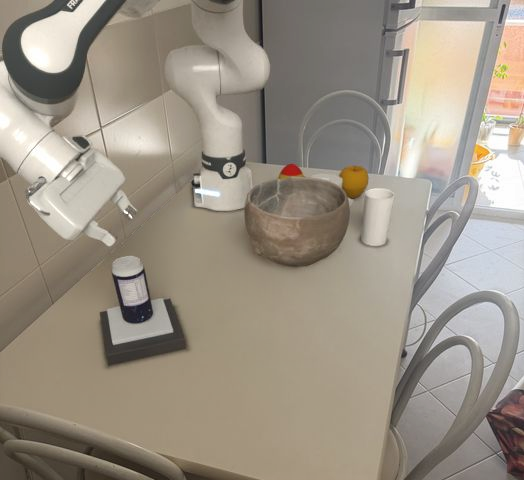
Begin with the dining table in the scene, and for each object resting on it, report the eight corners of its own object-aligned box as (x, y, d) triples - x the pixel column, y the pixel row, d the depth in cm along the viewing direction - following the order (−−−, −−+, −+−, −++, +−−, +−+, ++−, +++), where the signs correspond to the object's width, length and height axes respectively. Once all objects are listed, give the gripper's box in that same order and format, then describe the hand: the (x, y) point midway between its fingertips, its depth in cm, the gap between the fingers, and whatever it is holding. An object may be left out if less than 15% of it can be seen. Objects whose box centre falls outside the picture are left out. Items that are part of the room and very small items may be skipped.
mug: (383, 248, 119) (391, 201, 111) (356, 244, 121) (362, 197, 113) (392, 231, 126) (399, 185, 118) (366, 227, 128) (372, 181, 120)
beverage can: (159, 312, 94) (148, 257, 86) (144, 329, 90) (132, 273, 82) (133, 307, 96) (120, 252, 88) (117, 324, 92) (103, 268, 84)
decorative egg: (296, 206, 138) (297, 171, 132) (271, 201, 141) (271, 166, 135) (309, 196, 143) (311, 162, 137) (285, 191, 147) (286, 157, 140)
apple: (348, 205, 138) (351, 174, 133) (330, 195, 144) (333, 164, 138) (372, 198, 141) (376, 168, 136) (354, 189, 147) (357, 159, 142)
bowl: (227, 270, 112) (223, 207, 103) (266, 225, 129) (265, 168, 120) (330, 289, 105) (335, 224, 95) (356, 239, 122) (363, 180, 113)
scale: (102, 321, 98) (98, 308, 96) (171, 308, 101) (169, 295, 99) (108, 365, 87) (104, 352, 85) (185, 348, 91) (183, 335, 89)
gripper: (29, 179, 67) (112, 248, 72) (89, 131, 82) (153, 191, 88) (9, 208, 70) (90, 272, 76) (70, 157, 86) (134, 213, 91)
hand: (124, 228), depth 82 cm, fingers open, 8 cm apart
